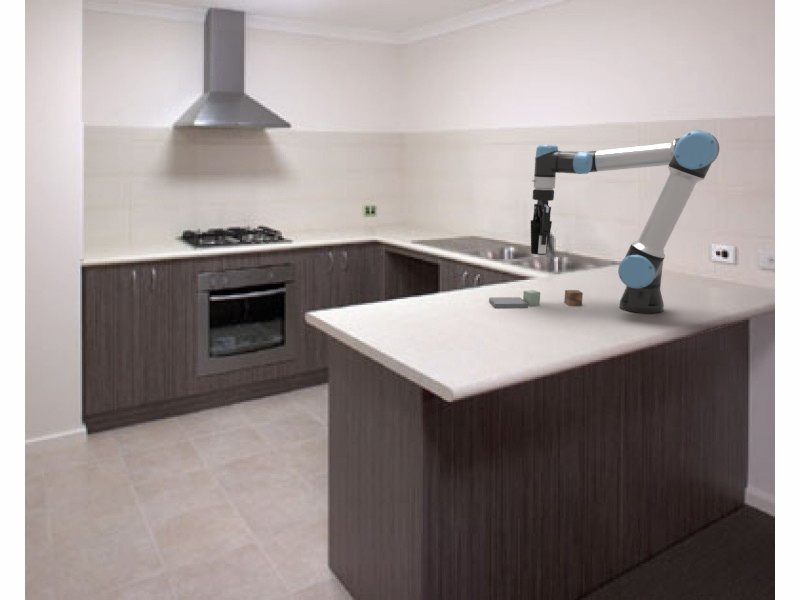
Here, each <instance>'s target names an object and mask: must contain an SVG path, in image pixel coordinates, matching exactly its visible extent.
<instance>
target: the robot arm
mask: <svg viewBox="0 0 800 600" xmlns="http://www.w3.org/2000/svg"><path fill="white" fill-rule="evenodd" d="M535 150H536V153H535V157H534V160H535V161H534V175H533V179H532V183H533V188H534V189H533V190H532V200H534V201H537V203H534V205H533V206H534V207H533V216H532V217H533V218H532V220H536V222H541V224H540V234H538V235H539V247H538V254H545V255H547V253H546V246H547V236H548V235H549V234H550V235H551V230H550V221H551V213H552V206H550V205H549V201H550V202H551V201H553V200H554V198H555V190H554V189H555V188H556V176H557V175H556V174H558V173H559V174H561V173H563V174H577V175H586V174H590V173H595V172H605V171H617V170H618V171H619V170H628V169H629V170H630V169H640V168H649V167H650V168H651V167H660V166H661V167H663V166H667V167H668V171H669V175H668V177H667V179H666V181H665V183H664V185H663V187H662V189H661V192H660V194H659V195H658V198H657V200H656V202H655V204H654V206H653V209H652V211H651V212H650V215H649V217H648V219H647V221H646V223H645V225H644V227H643V230H642V232H641V234H640V236H639V238H638V240H636V241H633V242H632V243H631V244H630V246H629V248H628V250H627V253H626V255H625V256H624V258H623V259H622V260H621V261H620V263H619V265H618V270H617V271H618V273H617V274H618V276H619V279H620V281H621V282H622V283H623V284H624V286H625V289H624V291H623V293H622V296H621V298H620V300H619V306H618V307H619V308H620V309H621V310H624V311H628V312H632V313H640V314H657V313H658V314H659V313H662V312H663V311H664V310H665V309H664V306H665V303H664V299H663V295H662V290H661V288H662V287H661V286H662V285H661V284H662V278H663V277H662V276H663V264H664V260H665V258H666V255H665V250H664V249H665V247H666V245H667V243H668V241H669V239H670V237H671V235H672V233H673V231H674V229H675V227H676V225H677V222H678V221H679V219H680V217H681V214H682V213H683V210H684V208H685V206H686V204H687V202H688V200H689V199H690V197H691V195H692V192H693V191H694V188H695V186H696V184H697V183H699V182H702V181H704V180H705V178H706V176H707V174H708V172H709V170H710V167H711V166H712V164H713V163H714V162H715V161H716V160H717V158H718V156H719V153H720V143H719V142H718V140H717V138H716V137H715V136H714V135H712V134H711V133H710V132H708V131H705V130H700V129H696V130H691V131H690V132H689V131H688V132H687V133H685V134H684V135H683V136H681V137H680V138H674V139H673V140H672V141H670V142H663V143H655V144H654V143H653V144H643V145H637V146H633V145H632V146H629V147H628V146H626V147H617V148H608V149H599V150H590V151H571V150H570V151H568V150H567V151H563V150H562V151H561V150H559V147H558V146H557V145H554V144H553V145H552V144H551V145H550V144H549V145H548V144H540V145H538V146H537V147H536V149H535Z"/></svg>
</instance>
